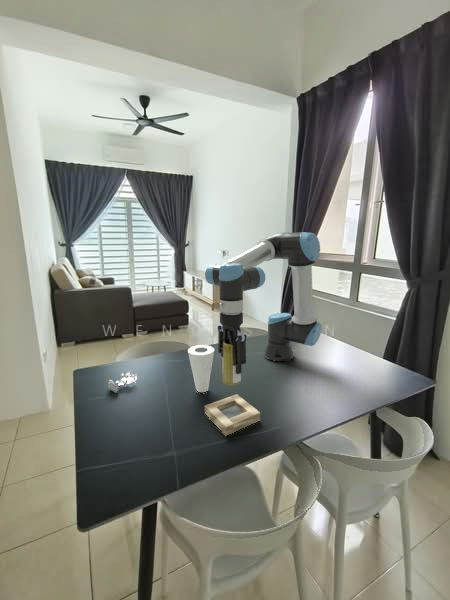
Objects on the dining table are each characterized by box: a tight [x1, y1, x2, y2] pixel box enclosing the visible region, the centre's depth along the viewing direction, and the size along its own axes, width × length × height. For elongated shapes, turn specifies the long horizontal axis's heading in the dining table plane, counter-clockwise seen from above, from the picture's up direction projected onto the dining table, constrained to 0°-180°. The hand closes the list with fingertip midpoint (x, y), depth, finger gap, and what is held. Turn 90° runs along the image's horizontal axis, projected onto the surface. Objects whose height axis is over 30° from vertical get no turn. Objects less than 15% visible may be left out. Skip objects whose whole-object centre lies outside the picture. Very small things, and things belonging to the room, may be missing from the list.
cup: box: [187, 344, 215, 393], centre depth 116 cm, size 11×11×18 cm
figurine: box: [107, 369, 138, 392], centre depth 120 cm, size 9×6×12 cm
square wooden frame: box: [204, 393, 261, 437], centre depth 100 cm, size 14×14×4 cm
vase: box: [222, 340, 241, 387], centre depth 96 cm, size 6×6×14 cm
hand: (231, 377), depth 97 cm, fingers closed on vase, 6 cm apart
